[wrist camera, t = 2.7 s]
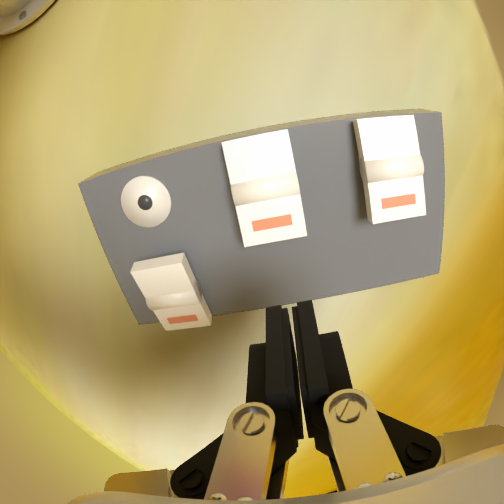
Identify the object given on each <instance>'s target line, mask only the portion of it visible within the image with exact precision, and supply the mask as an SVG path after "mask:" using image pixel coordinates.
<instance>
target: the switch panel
mask: <svg viewBox="0 0 504 504" xmlns="http://www.w3.org/2000/svg"><path fill="white" fill-rule="evenodd" d="M402 115H414V119H415V125H416V131H417V137H418V143H419V150H420V155H421V157H422V160H423V164H424V174H423V182H424V193H425V205H426V215H423V216H417V217H411V218H406V219H400V220H394V221H388V222H383V223H377V224H372V223H371V222H369V221H368V218H367V209H366V201H365V193H364V186H363V181H362V178H361V174H360V167H359V162H360V160H359V154H358V148H357V142H356V137H355V131H354V126H353V121H354V120H357V119H366V118H376V117H388V116H402ZM285 129H288V134H289V138H290V143H291V148H292V153H293V158H294V164H295V169H296V173H297V178H298V183H299V188H300V196H301V201H302V207H303V213H304V219H305V225H306V231H307V236H304V237H298V238H293V239H287V240H282V241H276V242H270V243H265V244H259V245H254V246H248V247H244V243H243V238H242V234H241V229H240V225H239V220H238V216H237V211H236V207H235V204H234V201H233V197H232V192H231V184H230V179H229V175H228V170H227V166H226V161H225V156H224V152H223V147H222V143H221V142H225V141H230V140H234V139H239V138H244V137H248V136H253V135H258V134H263V133H269V132H274V131H280V130H285ZM79 187H80V190H81V193H82V196H83V199H84V201H85V204H86V207H87V209H88V212H89V215H90V217H91V220H92V223H93V225H94V228H95V230H96V233H97V235H98V238H99V240H100V242H101V245H102V247H103V250H104V252H105V254H106V257H107V259H108V261H109V263H110V266H111V268H112V270H113V272H114V274H115V277H116V279H117V281H118V283H119V285H120V287H121V289H122V292H123V294H124V296H125V298H126V300H127V302H128V304H129V306H130V308H131V310H132V312H133V314H134V316H135V318H136V320H137V322H138V324H139V325H140V324H150V323H159V322H160V321H159V319H158V318H157V316H156V315H155V313H154V311H153V310H150V309H149V308H148V306H147V304H146V299H145V297H144V295H143V293H142V292H141V290H140V288H139V286H138V285H137V283H136V281H135V280H134V278H133V276H132V274H131V273H130V271H131V269H132V266H133V264H134V262H137V261H143V260H148V259H153V258H158V257H163V256H168V255H174V254H179V253H185V256H186V258H187V260H188V263H189V265H190V267H191V270H192V272H193V274H194V277H195V279H196V280H197V281H198V282H199V284H200V286H201V291H202V294H203V297H204V299H205V301H206V303H207V305H208V308H209V310H210V312H211V314H212V316H215V315H222V314H229V313H236V312H243V311H249V310H256V309H262V308H266V307H270V306H277V305H286V304H292V303H297V302H301V301H307V300H315V299H320V298H326V297H331V296H336V295H342V294H347V293H352V292H357V291H362V290H366V289H371V288H376V287H381V286H385V285H390V284H395V283H399V282H404V281H408V280H412V279H417V278H421V277H425V276H429V275H434V274H438V273H439V270H440V262H441V251H442V240H443V224H444V198H445V168H444V142H443V128H442V116H441V112H436V111H430V110H424V109H407V110H391V111H377V112H366V113H356V114H347V115H338V116H330V117H323V118H316V119H309V120H302V121H296V122H290V123H284V124H278V125H273V126H267V127H262V128H257V129H252V130H247V131H242V132H238V133H233V134H229V135H224V136H220V137H216V138H211V139H207V140H203V141H199V142H195V143H191V144H188V145H184V146H180V147H176V148H173V149H169V150H166V151H162V152H159V153H155V154H152V155H149V156H145V157H142V158H139V159H136V160H133V161H130V162H126V163H123V164H120V165H117V166H114V167H111V168H109V169H106V170H103V171H100V172H97V173H96V174H94V175H92V176H90V177H89V178H87V179H85V180H84V181H82V182H80V183H79Z"/></svg>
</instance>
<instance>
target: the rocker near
mask: <svg viewBox="0 0 504 504" xmlns="http://www.w3.org/2000/svg"><path fill="white" fill-rule="evenodd" d="M353 126H354V131H355V137H356V142H357V148H358V154H359V160H360V162H359V167H360V174H361V178H362V181H363V186H364V193H365V201H366V209H367V218H368V221H369V222H371V223H372V224H377V223H383V222H388V221H394V220H400V219H406V218H411V217H417V216H423V215H426V205H425V193H424V182H423V174H424V164H423V160H422V157H421V155H420V150H419V143H418V137H417V131H416V125H415V119H414V115H402V116H388V117H376V118H366V119H357V120H354V121H353Z"/></svg>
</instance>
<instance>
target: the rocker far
mask: <svg viewBox="0 0 504 504" xmlns="http://www.w3.org/2000/svg"><path fill="white" fill-rule="evenodd" d="M130 273H131V274H132V276H133V278H134V280H135V281H136V283H137V285H138V286H139V288H140V290H141V292H142V293H143V295H144V297H145V299H146V304H147V306H148V308H149V309H150V310H153V311H154V313H155V315H156V316H157V318H158V319H159V321H160V323H161V324H162V326H163V327H164V329H165V330H166V331H169V330H178V329H187V328H196V327H204V326H211V321H212V314H211V312H210V310H209V308H208V305H207V303H206V301H205V299H204V297H203V294H202V291H201V286H200V284H199V282H198V281H197V280H196V279H195V277H194V274H193V272H192V270H191V267H190V265H189V263H188V260H187V258H186V256H185V253H179V254H174V255H168V256H163V257H158V258H153V259H148V260H143V261H137V262H134V264H133V266H132V269H131V271H130Z"/></svg>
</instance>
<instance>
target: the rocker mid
mask: <svg viewBox="0 0 504 504" xmlns="http://www.w3.org/2000/svg"><path fill="white" fill-rule="evenodd" d="M221 143H222V147H223V152H224V156H225V161H226V166H227V170H228V175H229V179H230V184H231V192H232V197H233V201H234V204H235V207H236V211H237V216H238V220H239V225H240V229H241V234H242V238H243V243H244V247H248V246H254V245H259V244H265V243H270V242H276V241H282V240H287V239H293V238H298V237H304V236H307V231H306V225H305V219H304V213H303V207H302V201H301V196H300V188H299V183H298V178H297V173H296V169H295V164H294V158H293V153H292V148H291V143H290V138H289V134H288V129H285V130H280V131H274V132H269V133H263V134H258V135H253V136H248V137H244V138H239V139H234V140H230V141H225V142H221Z"/></svg>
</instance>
